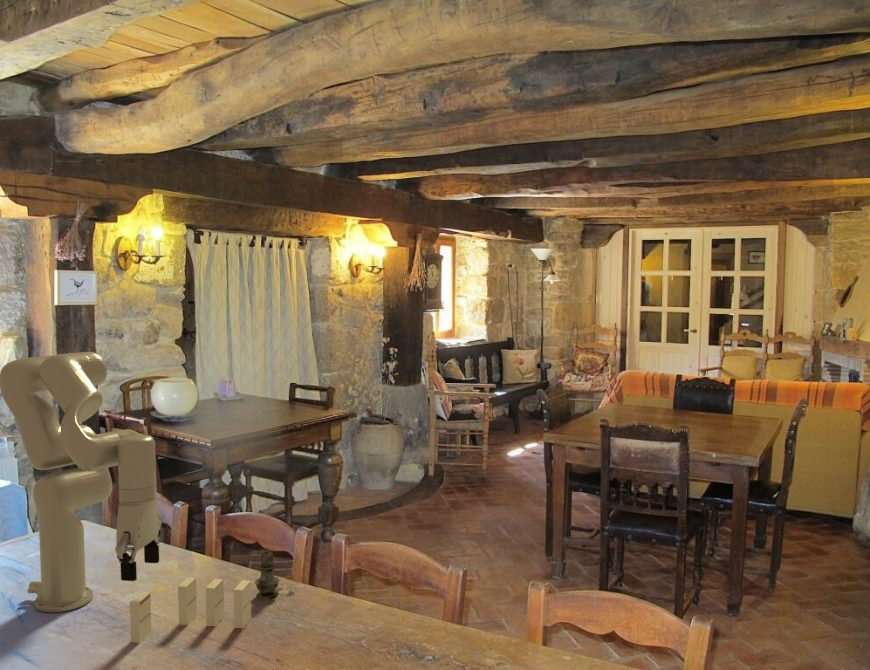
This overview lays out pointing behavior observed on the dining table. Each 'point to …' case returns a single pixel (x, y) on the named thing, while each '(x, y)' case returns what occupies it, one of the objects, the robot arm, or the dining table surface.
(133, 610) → the domino
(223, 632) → the dining table surface
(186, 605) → the domino
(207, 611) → the domino
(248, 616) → the domino
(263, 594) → the dark chess piece
